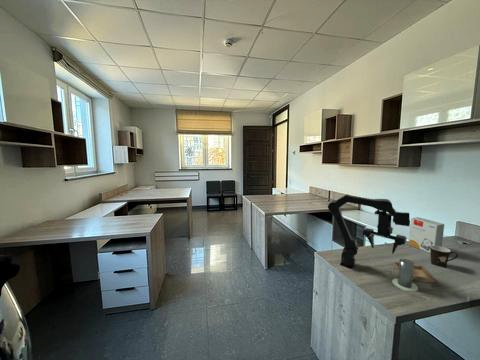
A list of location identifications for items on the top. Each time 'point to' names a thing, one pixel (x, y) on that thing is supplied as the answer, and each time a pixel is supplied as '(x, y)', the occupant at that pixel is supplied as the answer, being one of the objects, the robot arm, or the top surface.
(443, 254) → the coffee mug
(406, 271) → the grey round cylinder
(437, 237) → the hard drive box
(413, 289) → the drink coaster
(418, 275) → the light wooden tray
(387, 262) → the top surface
